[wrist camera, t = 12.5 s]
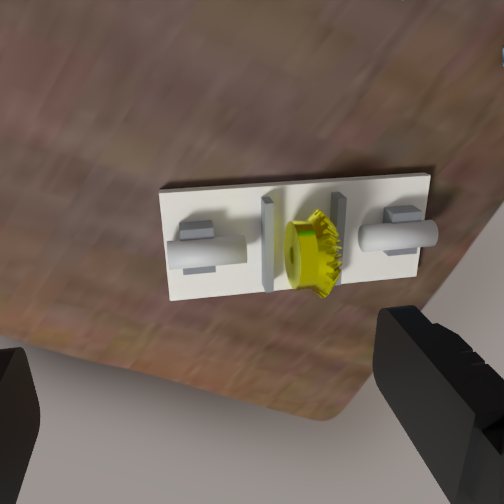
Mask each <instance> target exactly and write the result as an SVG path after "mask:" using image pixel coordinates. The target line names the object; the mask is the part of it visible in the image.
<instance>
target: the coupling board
mask: <svg viewBox="0 0 504 504" xmlns="http://www.w3.org/2000/svg"><path fill="white" fill-rule="evenodd" d="M430 177H431V175H429V174H427V173H425V172H423V173H407V174H392V175H377V176H361V177H346V178H330V179H315V180H299V181H284V182H269V183H253V184H238V185H222V186H207V187H191V188H176V189H161V190H159V198H160V207H161V217H162V227H163V237H164V246H165V256H166V266H167V275H168V285H169V295H170V301H175V300H185V299H195V298H205V297H215V296H224V295H234V294H244V293H254V292H264V291H265V292H266V293H267V292H274V290H284V289H293V288H292V287H291V286H290V283H289V281H288V277H287V273H286V268H285V260H284V235H285V229H286V226H287V224H288V222H290V221H302V220H306V219H307V218H308V217H309V215H310V214H311V213H312V212H313V211H314V210H317V209H319V210H320V211H322V212H323V213H324V214H325V215H326V216H327V217H328V219H329V220H330V221H331V222H332V223H333V224H334V226H335V227H336V229H337V230H336V231H337V232H338V233H339V235H338V236H337V238H339V239H340V241H341V242H340V243H338V244H337V246H339V247H342V249H341V250H340V251H337V253H338V254H341V255H342V257H341V258H339V259H338V261H340V262H342V265H341V266H340V267H339V268H340V269H341V272H340V273H339V275H340V277H339V279H338V281H337V282H336V284H335V286H336V285H341V284H344V283H354V282H364V281H374V280H384V279H394V278H404V277H414V276H416V275H417V268H418V261H419V254H420V247H428V246H434V245H435V244H436V243H437V240H438V228H437V225H436V223H435V222H434V221H433V220H424V219H425V212H426V205H427V198H428V191H429V184H430Z"/></svg>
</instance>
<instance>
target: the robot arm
mask: <svg viewBox="0 0 504 504" xmlns="http://www.w3.org/2000/svg"><path fill="white" fill-rule="evenodd" d="M373 373H374V378H375V381H376V384H377V386H378V388H379V390H380V391H381V393H382V394H383V396H384V398H385V399H386V401H387V403H388V404H389V406H390V407H391V409H392V410H393V412H394V414H395V415H396V417H397V418H398V420H399V422H400V423H401V425H402V426H403V428H404V430H405V431H406V433H407V434H408V436H409V438H410V439H411V441H412V443H413V444H414V446H415V447H416V449H417V451H418V452H419V454H420V455H421V457H422V459H423V460H424V462H425V463H426V465H427V467H428V468H429V470H430V471H431V473H432V475H433V476H434V478H435V479H436V481H437V483H438V484H439V486H440V487H441V489H442V491H443V492H444V494H445V495H446V497H447V499H448V500H449V502H450V503H451V504H504V380H503V378H501V376H500V375H499V374H498V373H497V372H495V370H494V369H493V368H492V367H490V366H489V365H488V364H485V361H484V360H483V359H482V358H481V357H480V356H479V355H478V354H477V353H476V352H473V349H472V348H471V347H470V346H469V345H468V344H467V343H466V342H465V341H464V340H463V339H462V338H461V337H460V336H459V335H458V334H456V333H454V332H453V331H451V330H449V329H447V328H445V327H444V326H442V325H440V324H438V323H435V324H432V323H431V322H430V321H429V320H428V319H427V318H426V317H425V316H424V315H423V314H422V313H421V312H420V310H419V309H418V308H417V307H415V306H414V305H407V306H398V307H389V308H382V309H381V310H380V311H379V313H378V317H377V326H376V335H375V344H374V353H373ZM39 427H40V407H39V401H38V397H37V394H36V390H35V386H34V382H33V379H32V375H31V371H30V367H29V363H28V360H27V356H26V353H25V351H24V349H23V348H21V347H17V348H8V349H0V504H16V501H17V498H18V495H19V492H20V489H21V486H22V482H23V479H24V476H25V473H26V470H27V467H28V464H29V460H30V458H31V454H32V451H33V448H34V445H35V442H36V439H37V436H38V432H39Z"/></svg>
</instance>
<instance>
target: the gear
mask: <svg viewBox="0 0 504 504" xmlns="http://www.w3.org/2000/svg"><path fill="white" fill-rule="evenodd" d="M336 230H337V229H336V227H335V226H334V224H333V223H332V222H331V221H330V220H329V219H328V217H327V216H326V215H325V214H324V213H323V212H322V211H320V210H319V209H317V210H314V211H313V212H312V213H311V214H310V215H309V217H308V218H307V219H306V220H302V221H290V222H288V224H287V226H286V229H285V235H284V260H285V268H286V273H287V277H288V281H289V283H290V286H291V287H292V288H293V289H294V290H300V289H311V290H312V291H313V292H314V293H315V294H317V295H318V296H319V297H320V298H322V297H323V298H325V297H326V296H328V295H329V293H330V292H331V290H332V289H333V287H334V286H335V284H336V282H337V281H338V279H339V277H340V275H339V273H340V272H341V269H340V268H339V267H340V266H341V265H342V262H340V261H338V259H339V258H341V257H342V255H341V254H338V253H337V251H340V250H341V249H342V247H339V246H337V244H338V243H340V242H341V241H340V239H339V238H337V236H338V235H339V233H338V232H337V231H336Z"/></svg>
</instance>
